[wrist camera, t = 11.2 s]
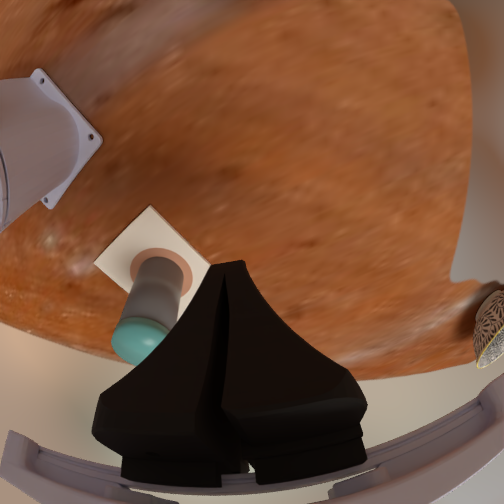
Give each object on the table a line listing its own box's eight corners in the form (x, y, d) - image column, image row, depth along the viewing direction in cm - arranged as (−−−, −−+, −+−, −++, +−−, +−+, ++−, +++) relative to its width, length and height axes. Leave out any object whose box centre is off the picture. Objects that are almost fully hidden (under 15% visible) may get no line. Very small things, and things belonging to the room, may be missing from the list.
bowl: (523, 252, 27) (550, 278, 21) (504, 312, 35) (522, 337, 29) (464, 295, 29) (492, 330, 23) (449, 351, 38) (467, 381, 31)
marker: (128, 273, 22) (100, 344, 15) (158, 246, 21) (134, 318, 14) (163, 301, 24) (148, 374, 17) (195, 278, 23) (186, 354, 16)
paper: (94, 260, 22) (93, 263, 21) (150, 204, 19) (149, 206, 19) (172, 324, 26) (171, 327, 26) (233, 285, 24) (233, 288, 24)
